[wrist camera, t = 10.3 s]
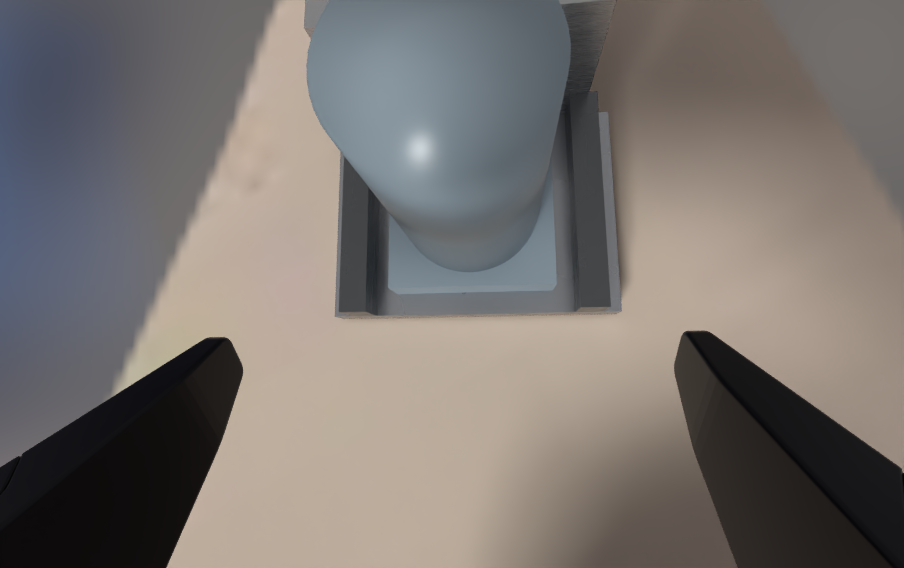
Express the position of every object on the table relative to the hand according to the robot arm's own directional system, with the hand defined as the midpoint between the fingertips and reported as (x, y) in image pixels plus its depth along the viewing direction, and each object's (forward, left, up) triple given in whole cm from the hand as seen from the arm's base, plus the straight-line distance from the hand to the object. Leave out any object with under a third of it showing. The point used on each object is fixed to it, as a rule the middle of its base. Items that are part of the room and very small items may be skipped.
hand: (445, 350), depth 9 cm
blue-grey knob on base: (+5, 0, -8) cm, 10 cm away
